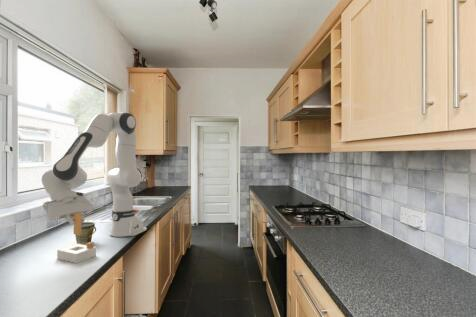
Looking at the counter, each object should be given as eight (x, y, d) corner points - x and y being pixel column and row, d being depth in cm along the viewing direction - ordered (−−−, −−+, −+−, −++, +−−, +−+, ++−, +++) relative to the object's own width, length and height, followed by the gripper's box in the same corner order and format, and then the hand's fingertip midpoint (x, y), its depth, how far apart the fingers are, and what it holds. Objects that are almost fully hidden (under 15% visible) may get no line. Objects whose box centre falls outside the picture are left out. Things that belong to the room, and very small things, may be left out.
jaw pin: (78, 232, 128) (78, 212, 128) (82, 232, 127) (83, 213, 127) (71, 233, 125) (72, 213, 125) (76, 234, 124) (77, 214, 124)
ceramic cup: (68, 244, 144) (68, 225, 144) (85, 239, 153) (85, 221, 153) (87, 247, 139) (87, 228, 139) (103, 242, 149) (103, 223, 149)
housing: (77, 251, 133) (77, 239, 133) (95, 255, 128) (96, 242, 128) (57, 258, 124) (57, 245, 124) (76, 263, 119) (76, 249, 119)
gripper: (44, 197, 119) (59, 223, 115) (86, 192, 138) (100, 214, 134) (37, 207, 121) (52, 232, 117) (80, 200, 140) (93, 222, 136)
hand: (78, 222), depth 126 cm, fingers closed on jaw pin, 3 cm apart
